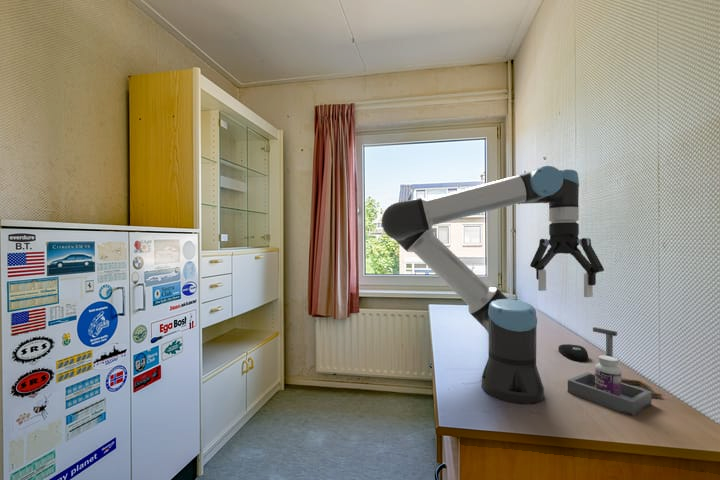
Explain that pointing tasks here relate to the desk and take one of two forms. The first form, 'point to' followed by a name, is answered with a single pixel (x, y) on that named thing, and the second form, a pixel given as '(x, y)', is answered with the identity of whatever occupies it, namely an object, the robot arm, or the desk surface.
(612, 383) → the pill bottle
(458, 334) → the desk surface
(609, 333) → the t stake
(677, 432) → the desk surface
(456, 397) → the desk surface
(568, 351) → the computer mouse
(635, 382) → the collar
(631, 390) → the tray
